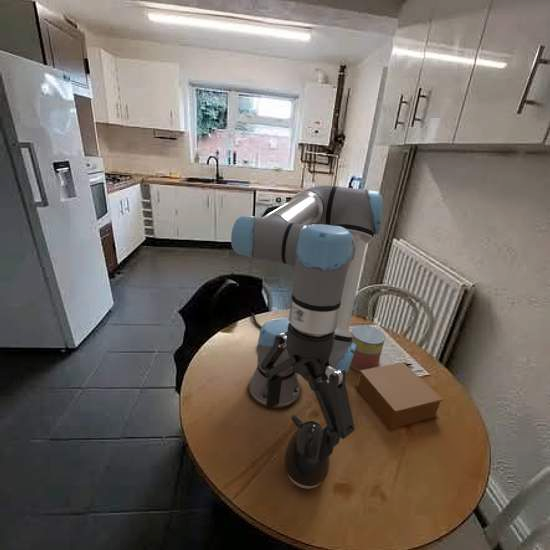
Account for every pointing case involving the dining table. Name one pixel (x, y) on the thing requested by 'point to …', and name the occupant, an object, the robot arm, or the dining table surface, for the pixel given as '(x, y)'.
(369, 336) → the canned food
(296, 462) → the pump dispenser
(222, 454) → the dining table surface
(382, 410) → the takeaway box
